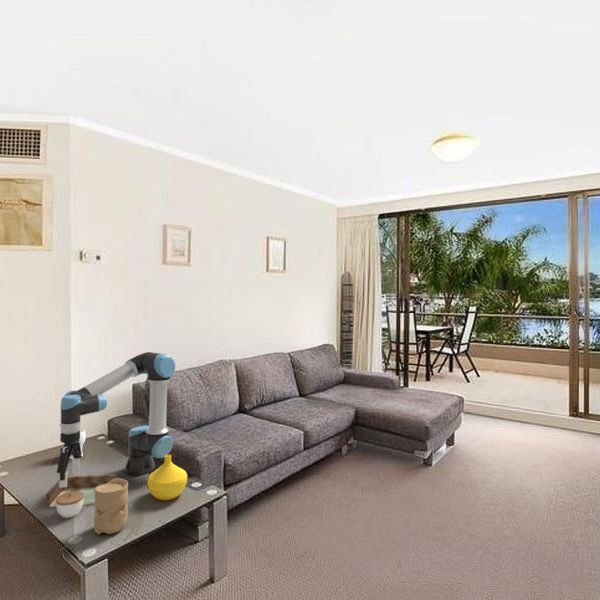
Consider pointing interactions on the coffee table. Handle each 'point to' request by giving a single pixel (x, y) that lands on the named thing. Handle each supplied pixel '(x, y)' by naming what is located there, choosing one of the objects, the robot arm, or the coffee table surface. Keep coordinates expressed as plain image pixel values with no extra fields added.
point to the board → (70, 491)
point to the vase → (167, 480)
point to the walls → (78, 484)
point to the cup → (80, 441)
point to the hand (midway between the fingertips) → (69, 479)
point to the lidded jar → (69, 503)
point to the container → (111, 506)
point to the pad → (88, 495)
